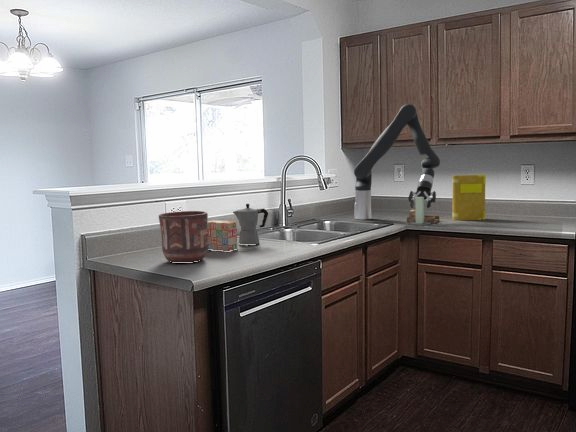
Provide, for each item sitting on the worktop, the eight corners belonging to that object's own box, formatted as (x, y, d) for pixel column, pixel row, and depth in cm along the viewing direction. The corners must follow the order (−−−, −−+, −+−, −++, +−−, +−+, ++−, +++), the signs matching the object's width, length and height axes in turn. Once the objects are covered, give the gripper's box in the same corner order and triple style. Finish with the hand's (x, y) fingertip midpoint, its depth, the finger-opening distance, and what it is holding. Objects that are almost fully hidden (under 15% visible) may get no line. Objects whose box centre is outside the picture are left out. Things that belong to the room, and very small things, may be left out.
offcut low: (408, 220, 286) (408, 215, 286) (412, 218, 294) (412, 214, 294) (415, 220, 284) (415, 215, 284) (419, 218, 292) (419, 214, 292)
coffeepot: (233, 246, 222) (231, 205, 220) (234, 243, 231) (233, 203, 229) (269, 245, 222) (267, 203, 220) (269, 242, 232) (267, 202, 230)
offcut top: (409, 215, 286) (409, 211, 285) (412, 214, 293) (412, 209, 293) (416, 215, 284) (416, 211, 284) (419, 214, 292) (419, 209, 291)
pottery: (203, 254, 204) (200, 209, 202) (215, 262, 188) (212, 213, 186) (158, 260, 197) (154, 213, 195) (166, 268, 181) (162, 217, 179)
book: (481, 218, 294) (482, 174, 291) (485, 219, 287) (485, 174, 284) (451, 219, 295) (451, 175, 293) (453, 220, 289) (454, 175, 286)
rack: (406, 222, 285) (406, 217, 285) (412, 220, 295) (412, 215, 295) (434, 223, 278) (434, 218, 277) (439, 220, 288) (439, 215, 288)
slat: (415, 223, 276) (415, 197, 274) (417, 222, 279) (417, 196, 278) (422, 223, 274) (422, 197, 272) (424, 222, 277) (423, 196, 276)
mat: (408, 224, 275) (408, 223, 275) (412, 223, 282) (412, 222, 282) (427, 225, 271) (427, 224, 271) (431, 223, 278) (431, 222, 278)
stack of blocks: (189, 249, 219) (187, 220, 218) (198, 247, 224) (197, 219, 223) (228, 253, 208) (227, 222, 206) (238, 250, 213) (236, 220, 212)
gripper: (411, 180, 286) (405, 202, 277) (437, 179, 279) (432, 202, 270) (413, 189, 291) (408, 211, 282) (439, 189, 284) (434, 211, 275)
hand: (419, 207), depth 276 cm, fingers open, 8 cm apart
